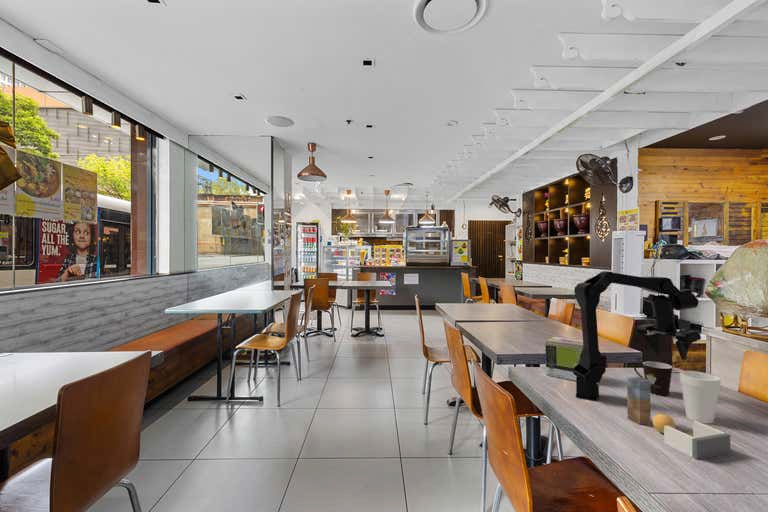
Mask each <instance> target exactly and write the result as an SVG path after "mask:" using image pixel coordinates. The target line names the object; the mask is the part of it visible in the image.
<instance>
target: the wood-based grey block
mask: <svg viewBox="0 0 768 512" xmlns="http://www.w3.org/2000/svg"><path fill="white" fill-rule="evenodd" d="M626 379H627V381H626V382H627V384H626V385H627V386H626V388H627V389H626V390H627V391H626V392H627V394H626V396H627V420H629V421H631V422H633V423H635V424H638V425H639V426H641V424H642V425H649V424H651V422H652V421H651V419H652V417H651V416H652V415H651V414H652V413H651V410H652V409H651V394H650V380H647V379H645V377H643V378H641V377H640V376H639V375H637V376H628V377H627V378H626ZM648 423H649V424H648Z"/></svg>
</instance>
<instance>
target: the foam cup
mask: <svg viewBox="0 0 768 512" xmlns="http://www.w3.org/2000/svg"><path fill="white" fill-rule="evenodd" d="M679 382H680V385H681V392H682V397H683V403H684V410H685V415H686V417H687V419H689V420H692V421H693V422H694V421H697V422H699V423H702V424H713V423H714V421H715V416H716V411H717V406H718V405H717V404H718V399H719V392H720V388H721V387H722V386H721V384H722V383H721V378H720V377H719V376H717V375H715V374H713V373H712V374H710V373H708V372H703V371H702V372H701V371H697V370H696V371H695V370H681V371H679Z"/></svg>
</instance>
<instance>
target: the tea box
mask: <svg viewBox="0 0 768 512" xmlns="http://www.w3.org/2000/svg"><path fill="white" fill-rule="evenodd" d="M544 341H545V343H544V345H545V375H546V376H549V377H554V378H559V377H560V379H564V380H565V379H566V380H569V381H570V380H571V381H574V382H576V377H577V376H576V375H574V373H573V371H572V369H573V368H574V367H575V366H576V365H577V364H578V363H579V361H580V354H581V352H582V350H583V340H582V339H581V340H580V339H574V338H573V339H571V338H567V337H566V338H565V337H564V338H563V337H556V336H553V337H550V338H548V339H545V340H544Z"/></svg>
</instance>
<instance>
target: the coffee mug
mask: <svg viewBox="0 0 768 512" xmlns="http://www.w3.org/2000/svg"><path fill="white" fill-rule="evenodd" d="M637 366H640V367H642V369H643V375H644V377H643V375H641V373H639V372H638V370H637ZM633 370H634V372H635V373H636V374H637V376H638V377H641V378H644V379H647V380H650V393H652V394H651V395H653V394H656V395H655V396H658V395H660V396H659V397H668V396H669V394H670V387H671V380H672V375H673V374H672V372H673V366H672V365H671V364H668V363H664V362H659V361H644V362H643V361H642V364H641V363H635V364H634V366H633ZM667 395H668V396H667Z"/></svg>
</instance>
